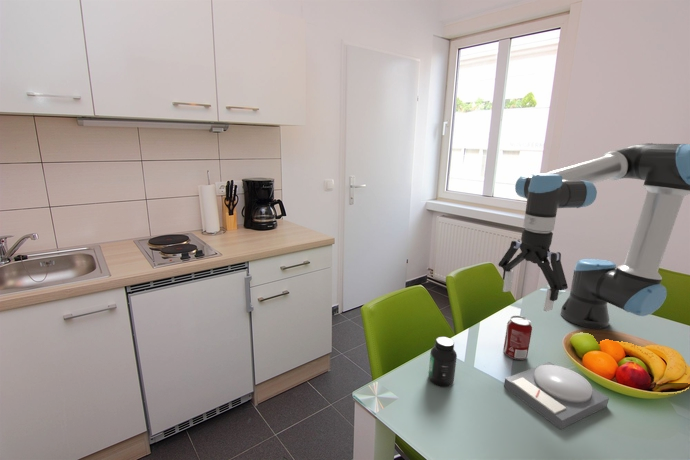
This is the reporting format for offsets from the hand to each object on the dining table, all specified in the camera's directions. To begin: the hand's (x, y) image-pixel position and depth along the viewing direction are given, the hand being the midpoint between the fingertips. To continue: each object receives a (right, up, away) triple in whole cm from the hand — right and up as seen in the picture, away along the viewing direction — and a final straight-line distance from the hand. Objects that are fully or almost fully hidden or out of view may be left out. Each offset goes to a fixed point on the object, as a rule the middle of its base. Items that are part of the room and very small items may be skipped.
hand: (526, 300), depth 104 cm
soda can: (0, -18, +6) cm, 19 cm away
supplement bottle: (-27, -21, -6) cm, 34 cm away
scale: (+1, -23, -11) cm, 25 cm away
